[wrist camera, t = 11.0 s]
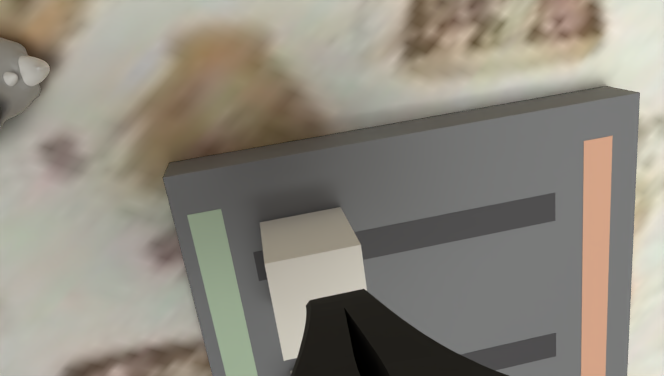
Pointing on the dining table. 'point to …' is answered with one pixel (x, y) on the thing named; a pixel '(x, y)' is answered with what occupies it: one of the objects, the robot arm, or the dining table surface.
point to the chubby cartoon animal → (18, 79)
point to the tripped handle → (308, 267)
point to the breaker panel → (437, 231)
